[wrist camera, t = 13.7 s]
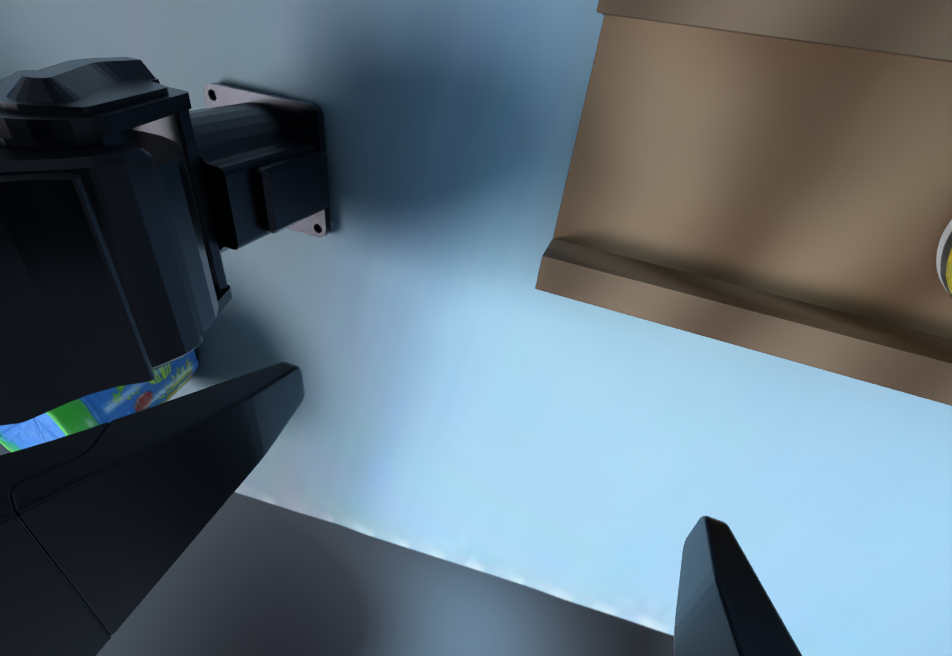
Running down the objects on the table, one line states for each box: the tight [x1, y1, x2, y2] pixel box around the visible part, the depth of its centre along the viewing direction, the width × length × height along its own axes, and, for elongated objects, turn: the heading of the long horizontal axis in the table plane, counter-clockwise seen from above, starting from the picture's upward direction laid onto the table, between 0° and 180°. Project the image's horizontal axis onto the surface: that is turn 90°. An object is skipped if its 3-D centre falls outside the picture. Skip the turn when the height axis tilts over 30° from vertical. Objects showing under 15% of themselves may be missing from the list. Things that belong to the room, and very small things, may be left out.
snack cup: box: [0, 350, 198, 452], centre depth 32 cm, size 16×11×10 cm
